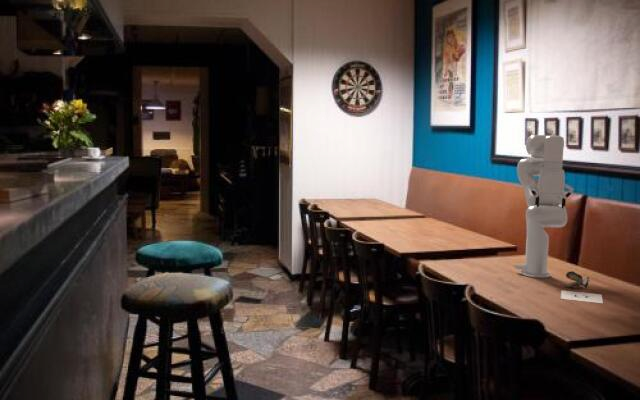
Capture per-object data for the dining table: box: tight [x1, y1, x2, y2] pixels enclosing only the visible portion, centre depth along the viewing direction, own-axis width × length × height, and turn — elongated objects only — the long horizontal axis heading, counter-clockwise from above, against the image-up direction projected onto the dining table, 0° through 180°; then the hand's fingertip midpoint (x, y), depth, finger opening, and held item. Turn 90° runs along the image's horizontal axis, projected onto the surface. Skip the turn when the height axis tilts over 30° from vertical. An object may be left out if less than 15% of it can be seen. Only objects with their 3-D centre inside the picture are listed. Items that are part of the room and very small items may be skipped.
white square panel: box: [560, 289, 604, 304], centre depth 249 cm, size 15×14×1 cm
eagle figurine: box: [563, 271, 590, 290], centre depth 263 cm, size 8×7×9 cm
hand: (550, 207), depth 262 cm, fingers open, 9 cm apart
